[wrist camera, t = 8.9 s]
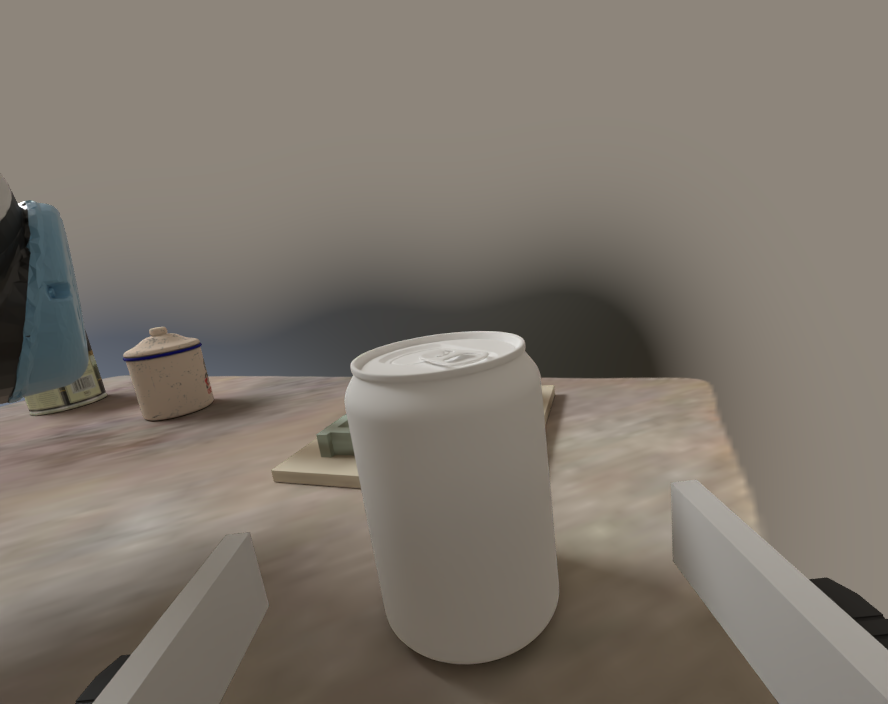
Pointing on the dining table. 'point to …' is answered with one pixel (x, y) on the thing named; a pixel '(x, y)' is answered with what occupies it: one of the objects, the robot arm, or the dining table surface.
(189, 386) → the teacup with lid
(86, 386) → the coffee can
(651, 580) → the dining table surface
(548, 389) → the board
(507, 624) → the beverage can
